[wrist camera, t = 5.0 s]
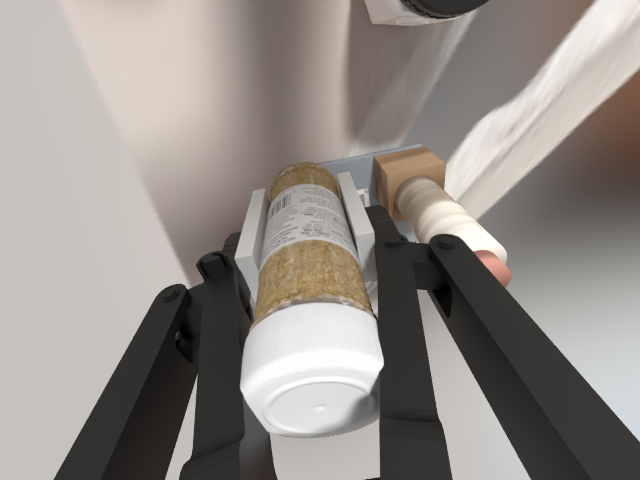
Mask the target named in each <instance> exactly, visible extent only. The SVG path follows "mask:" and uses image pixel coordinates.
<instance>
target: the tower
mask: <svg viewBox="0 0 640 480" xmlns="http://www.w3.org/2000/svg"><path fill="white" fill-rule="evenodd" d="M374 167H375V181H376V195H377V202H378V204H380V205H381V206H383V207H385V208H386V209H387V211H388V213H389V215H390V217H391V218H392V220H393V222H394V223H399V222H404V221H406V222H407V224H408V225H409V227H410V228H411V230H412V232H413V233H414V235H415V236H416V238H417V239H418V241H419V243H429V241H430V239H431V238H432V237H433V236H435V235H438V234H453V235H455V236H458V237H460V238H461V239H462V240H463V241H464V242H465V243H466V244H467V245H468V246H469V248H470V249H471V250H472V251H473V252H474V253H475V254H476V256H477V257H478V258H479V259H480V260H481V261H482V262H483V264H484V265H485V266H486V267H487V268H488V269H489V270H490V272H491V273H492V274H493V275H494V276H495V277H496V278H497V280H498V281H499V282H500V283H501V284H502V285H503V286H504V288H505V287H506V286H507V285H508V283H509V281H510V279H511V272H510V270H509V269H508V268H507V267H506V265H505V264H506V261H507V253H506V251H505V249H504V248H503V247H502V246H501V245H500V244H499V243H498V242H497V241H496V240H495V239H494V238H493V237H492V236H491V235H490V234H489V233H488V232H487V231H486V230H485V229H484V228H483V227H482V226H480V225H479V224H478V223H477V222H476V221H475V220H474V219H473V218H472V217H471V216H470V215H469V214H468V213H467V212H466V211H465V210H464V209H463V208H462V207H461V206H460V205H459V204H458V203H457V202H456V201H455V200H454V199H452V198H451V197H450V196H449V195H448V194H447V193H446V192H445V191H444V183H445V170H446V163H445V162H444V161H442V160H441V159H440V158H438V157H437V156H436V155H435V154H433V153H432V152H431V151H429V150H428V149H427V148H425V147H424V146H422V147H417V148H412V149H407V150H402V151H398V152H393V153H388V154H383V155H378V156H374Z"/></svg>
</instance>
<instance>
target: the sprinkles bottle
mask: <svg viewBox="0 0 640 480" xmlns="http://www.w3.org/2000/svg"><path fill="white" fill-rule="evenodd" d="M258 284H259V286H258V292H257V301H256V309H255V316H254V322H253V324H252V326H251V328H250V330H249V335H248V337H247V338H246V341H245V345H244V351H243V357H242V368H241V382H240V389H241V392H242V393H243V396H244V398H245V400H246V402H247V404H248V405H249V407H250V408H251V410H252V411H253V413H254V414H255V416H256V417H257V418H258V420H259V421H260V423H261V424H262V425H263V427H264V428H265V429H266V430H267V432H269V433H272V434H276V435H280V436H286V437H294V438H318V437H329V436H334V435H340V434H344V433H348V432H351V431H355V430H357V429H360V428H362V427H365V426H367V425H369V424H371V423H372V422H374V421H376V420H378V419H379V418H380V377H379V371H380V370H381V369H382V368H383V365H384V359H383V355H382V350H381V346H380V342H379V327H378V319H377V317H376V316H375V314H374V313H373V310H372V308H371V303H370V301H369V296H368V293H367V290H366V287H365V283H364V278H363V271H362V267H361V263H360V260H359V257H358V253H357V250H356V247H355V243H354V240H353V236H352V233H351V229H350V226H349V223H348V219H347V216H346V213H345V210H344V207H343V204H342V203H341V200H340V193H339V187H338V184H337V181H336V179H335V177H334V176H333V175H332V174H331V173H330V172H329V171H328V170H327V169H325V168H324V167H323V166H320V165H318V164H315V163H310V162H303V163H296V164H293V165H290V166H288V167H286V168H285V169H284V170H282V171H281V172H280V173H279V174H278V176H277V177H276V178H275V179H274V181H273V184H272V187H271V205H270V208H269V211H268V216H267V222H266V228H265V235H264V241H263V247H262V254H261V260H260V267H259V274H258Z"/></svg>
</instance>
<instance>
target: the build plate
mask: <svg viewBox="0 0 640 480" xmlns="http://www.w3.org/2000/svg"><path fill="white" fill-rule="evenodd" d="M422 146H423V145H422V144H414V145H410V146H405V147H400V148H395V149H390V150H385V151H380V152H375V153H370V154H365V155H360V156H355V157H350V158H345V159H340V160H336V161H331V162H326V163H321V164H318V165H320V166H323V167H324V168H325V169H327V170H328V171H329V172H330V173H331V174H332V175H333V176H334V177H335V179H336V181H337V184H338V179H337V174H338V173H343V172H348V171H349V172H350V175H351V177H352V179H353V182H354V184H355V187H356V189H357V192H358V194H359V196H360V199H361V201H362V204H363V206H364V207H369V206H374V205H379V204H378V202H377V195H376V181H375V167H374V156H378V155H383V154H388V153H393V152H398V151H402V150H407V149H412V148H417V147H422ZM338 187H339V186H338ZM339 193H340V192H339ZM340 200H341V199H340ZM394 224H395V226H396V228H397V229H398V231H399V233H400V234H401V235H404V236H405V237H406V238H407V239H408V241H409V242H417V241H418V239H417V238H416V236H415V235H414V233H413V232H412V230H411V228H410V227H409V225H408V224H407V222H406V221H404V222H399V223H394Z"/></svg>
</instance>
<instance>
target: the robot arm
mask: <svg viewBox="0 0 640 480" xmlns="http://www.w3.org/2000/svg"><path fill="white" fill-rule="evenodd" d="M337 179H338V186H339V192H340V199H341V203H342V204H343V207H344V210H345V213H346V216H347V219H348V223H349V226H350V229H351V233H352V236H353V240H354V243H355V247H356V250H357V253H358V257H359V260H360V263H361V267H362V271H363V278H364V282H368V281H374V280H378V327H379V342H380V346H381V350H382V355H383V359H384V365H383V368H382V369H381V370H380V371H379V377H380V423H379V428H380V429H379V430H380V477H379V478H373V479H366V480H453V479H452V474H451V469H450V462H449V457H448V451H447V445H446V440H445V435H444V430H443V427H442V424H441V422H440V420H439V417H438V414H437V408H436V402H435V396H434V390H433V385H432V378H431V372H430V366H429V360H428V354H427V349H426V342H425V336H424V330H423V324H422V318H421V313H420V306H419V301H418V294H417V289H421V290H427V292H428V294H429V296H430V297H431V299H432V301H433V303H434V305H435V306H436V308H437V310H438V312H439V314H440V316H441V317H442V319H443V321H444V323H445V324H446V326H447V328H448V330H449V332H450V333H451V335H452V337H453V339H454V341H455V343H456V344H457V346H458V348H459V350H460V352H461V353H462V355H463V357H464V359H465V361H466V363H467V364H468V366H469V368H470V370H471V372H472V373H473V375H474V377H475V379H476V381H477V382H478V384H479V386H480V388H481V390H482V392H483V393H484V395H485V397H486V399H487V401H488V402H489V404H490V406H491V408H492V410H493V412H494V413H495V415H496V417H497V418H498V420H499V422H500V424H501V426H502V428H503V430H504V431H505V433H506V435H507V437H508V439H509V440H510V442H511V444H512V446H513V448H514V449H515V451H516V453H517V455H518V457H519V459H520V460H521V462H522V464H523V466H524V467H525V469H526V471H527V473H528V475H529V477H530V478H531V480H640V442H639V441H638V440H637V438H636V437H635V436H634V435H633V434H632V433H631V432H630V431H629V429H628V428H627V427H626V426H625V425H624V424H623V423H622V421H621V420H620V419H619V418H618V417H617V416H616V415H615V414H614V412H613V411H612V410H611V409H610V408H609V406H608V405H607V404H606V403H605V402H604V401H603V400H602V398H601V397H600V396H599V395H598V394H597V393H596V392H595V391H594V389H593V388H592V387H591V386H590V385H589V384H588V382H587V381H586V380H585V379H584V378H583V377H582V376H581V374H580V373H579V372H578V371H577V370H576V369H575V368H574V366H573V365H572V364H571V363H570V362H569V361H568V360H567V359H566V357H565V356H564V355H563V354H562V353H561V352H560V350H559V349H558V348H557V347H556V346H555V345H554V344H553V342H552V341H551V340H550V339H549V338H548V337H547V336H546V334H545V333H544V332H543V331H542V330H541V329H540V328H539V326H538V325H537V324H536V323H535V322H534V321H533V320H532V318H531V317H530V316H529V315H528V314H527V313H526V312H525V310H524V309H523V308H522V307H521V306H520V305H519V304H518V303H517V301H516V300H515V299H514V298H513V297H512V296H511V295H510V293H509V292H508V291H507V290H506V289H505V288H504V286H503V285H502V284H501V283H500V282H499V281H498V280H497V278H496V277H495V276H494V275H493V274H492V273H491V272H490V270H489V269H488V268H487V267H486V266H485V265H484V264H483V262H482V261H481V260H480V259H479V258H478V257H477V256H476V254H475V253H474V252H473V251H472V250H471V249H470V248H469V246H468V245H467V244H466V243H465V242H464V241H463V240H462V239H461V238H460V237H458V236H455V235H453V234H438V235H435V236H433V237H432V238H431V239H430V241H429V243H413V242H409V241H408V239H407V238H406V237H405V236H404V235H401V234H400V233H399V231H398V229H397V228H396V226H395V224H394V222H393V220H392V218H391V217H390V215H389V213H388V211H387V209H386V208H385V207H383V206H381V205H380V204H379V205H374V206H369V207H364V206H363V204H362V201H361V199H360V196H359V194H358V192H357V189H356V187H355V184H354V182H353V179H352V177H351V175H350V172H349V171H348V172H343V173H338V174H337ZM270 205H271V204H270V201H269V198H268V195H267V192H266V189H265V188H263V189H258V190H253V193H252V197H251V200H250V204H249V207H248V211H247V215H246V218H245V222H244V225H243V229H242V232H238V233H233V234H231V235H230V236H229V237H228V238H227V239H226V241H225V244H224V248H223V250H222V251H214V252H211V253H208V254H206V255H205V256H203V257H202V258H201V259H200V260H199V261H198V262H197V264H196V267H197V268H198V270H199V272H200V274H201V275H202V277H203V279H204V283H202V284H200V285H198V286H195V287H193V288H190V289H188V290H187V288H186V287H185V285H182V284H175V285H171V286H169V287H167V288H165V289H164V290H162V291H161V292H160V293H159V294H158V295H157V297H156V298H155V300H154V301H153V303H152V305H151V307H150V309H149V311H148V312H147V314H146V316H145V318H144V319H143V321H142V323H141V325H140V326H139V328H138V330H137V332H136V334H135V335H134V337H133V339H132V341H131V343H130V344H129V346H128V348H127V350H126V351H125V353H124V355H123V357H122V359H121V360H120V362H119V364H118V366H117V367H116V369H115V371H114V373H113V374H112V377H111V378H110V380H109V382H108V383H107V385H106V387H105V389H104V391H103V393H102V394H101V396H100V398H99V400H98V401H97V403H96V405H95V407H94V408H93V410H92V412H91V414H90V416H89V418H88V419H87V421H86V423H85V425H84V426H83V428H82V430H81V432H80V433H79V435H78V437H77V439H76V440H75V442H74V444H73V446H72V448H71V449H70V452H69V453H68V455H67V457H66V458H65V460H64V462H63V464H62V466H61V467H60V469H59V471H58V473H57V474H56V477H55V478H54V480H165V477H166V474H167V471H168V468H169V464H170V461H171V458H172V455H173V451H174V448H175V445H176V442H177V439H178V435H179V432H180V429H181V426H182V422H183V419H184V416H185V413H186V409H187V406H188V403H189V399H190V396H191V393H192V390H193V387H194V383H195V380H196V377H197V374H198V378H197V379H198V380H197V394H196V408H195V423H194V438H193V450H192V455H191V458H190V460H188V461H187V462H186V463H185V464H184V465H183V467H182V470H181V472H180V477H179V480H278V479H277V476H276V473H275V469H274V463H273V456H272V449H271V441H270V434H269V432H267V430H266V429H265V428H264V427H263V425H262V424H261V423H260V421H259V420H258V418H257V417H256V416H255V414H254V413H253V411H252V410H251V408H250V407H249V405H248V404H247V402H246V400H245V398H244V396H243V393H242V392H241V389H240V382H241V368H242V357H243V351H244V345H245V341H246V338H247V337H248V335H249V330H250V328H251V326H252V324H253V322H254V314H253V308H252V306H251V304H250V297H251V295H252V298H253V300H254V302H256V301H257V292H258V286H259V284H258V274H259V267H260V260H261V254H262V247H263V241H264V235H265V228H266V222H267V216H268V211H269V208H270ZM176 334H177V335H176Z"/></svg>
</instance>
